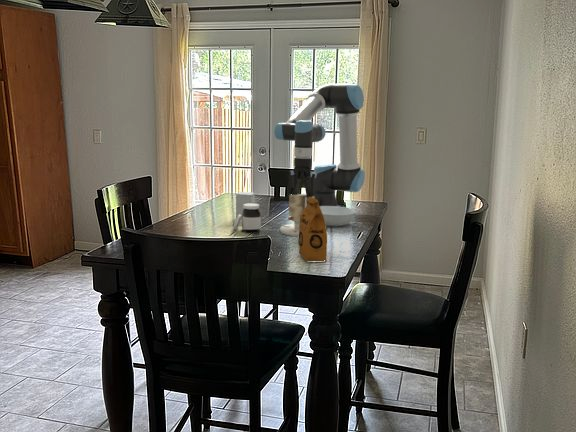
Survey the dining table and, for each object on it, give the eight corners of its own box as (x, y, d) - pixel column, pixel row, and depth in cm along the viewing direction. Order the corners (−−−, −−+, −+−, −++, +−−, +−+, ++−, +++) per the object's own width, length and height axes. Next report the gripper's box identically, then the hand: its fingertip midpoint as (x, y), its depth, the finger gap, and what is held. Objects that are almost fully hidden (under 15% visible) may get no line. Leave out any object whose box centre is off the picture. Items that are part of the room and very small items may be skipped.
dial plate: (327, 229, 254) (327, 218, 253) (313, 238, 238) (314, 226, 237) (289, 225, 261) (289, 214, 260) (273, 233, 244) (274, 222, 243)
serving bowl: (324, 231, 251) (325, 216, 250) (301, 221, 270) (302, 207, 268) (363, 227, 261) (364, 212, 259) (339, 218, 279) (339, 204, 278)
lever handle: (306, 216, 255) (307, 192, 252) (317, 220, 247) (318, 195, 245) (283, 219, 249) (284, 194, 246) (294, 223, 241) (295, 197, 239)
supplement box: (250, 221, 267) (250, 194, 264) (235, 220, 268) (235, 194, 266) (254, 218, 274) (255, 192, 272) (239, 217, 276) (240, 191, 273)
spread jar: (262, 233, 245) (262, 206, 242) (236, 234, 242) (236, 207, 239) (255, 227, 256) (256, 201, 254) (230, 228, 253) (231, 202, 250)
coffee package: (301, 263, 202) (303, 202, 197) (296, 254, 214) (297, 196, 209) (329, 263, 203) (331, 202, 199) (322, 253, 215) (324, 196, 211)
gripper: (280, 156, 244) (279, 210, 249) (317, 159, 235) (315, 215, 240) (289, 155, 250) (288, 207, 255) (325, 158, 241) (323, 212, 246)
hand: (301, 211), depth 247 cm, fingers closed on lever handle, 5 cm apart
